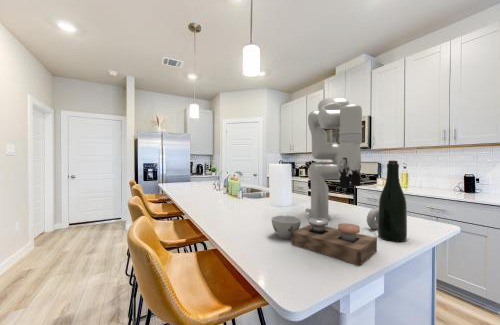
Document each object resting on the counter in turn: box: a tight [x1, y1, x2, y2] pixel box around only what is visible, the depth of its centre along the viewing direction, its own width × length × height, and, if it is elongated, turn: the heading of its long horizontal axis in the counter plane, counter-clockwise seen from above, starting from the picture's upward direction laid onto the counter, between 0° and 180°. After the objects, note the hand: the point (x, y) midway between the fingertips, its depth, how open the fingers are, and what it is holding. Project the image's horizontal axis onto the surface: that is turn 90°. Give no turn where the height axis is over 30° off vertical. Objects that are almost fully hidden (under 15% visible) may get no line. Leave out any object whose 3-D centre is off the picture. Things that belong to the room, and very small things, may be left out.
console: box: [291, 224, 378, 267], centre depth 88 cm, size 26×16×5 cm, turn 45°
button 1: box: [308, 217, 329, 235], centre depth 92 cm, size 7×7×6 cm
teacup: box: [271, 215, 302, 240], centre depth 101 cm, size 15×12×8 cm
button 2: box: [337, 222, 361, 243], centre depth 84 cm, size 7×7×6 cm
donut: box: [366, 207, 379, 230], centre depth 110 cm, size 10×4×10 cm, turn 117°
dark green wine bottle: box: [377, 160, 408, 243], centre depth 98 cm, size 10×10×33 cm
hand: (350, 186), depth 84 cm, fingers open, 9 cm apart
